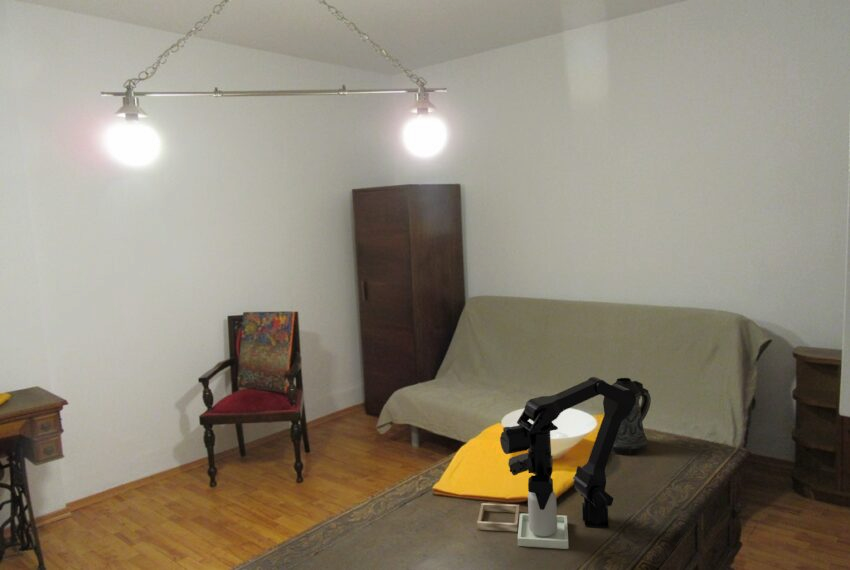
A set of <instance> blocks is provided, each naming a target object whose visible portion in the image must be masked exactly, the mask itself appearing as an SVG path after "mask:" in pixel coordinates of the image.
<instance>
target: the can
mask: <svg viewBox="0 0 850 570" xmlns="http://www.w3.org/2000/svg"><path fill="white" fill-rule="evenodd" d="M527 506H528V507H527V508H528V509H527V511H528V512H527V513H528V514H529V529H530V531H531V532H533V533H534V534H535V535H537V536H540V537H548V536H551V535H553V534H554V533H555V532H556V531H557V515H558V514H557V513H558V511H557V495H556V493H555V491H553V492H552V493H551V495H550V497H549V499H548V502H547V504H546V506H545V509H544V510H540V508H539V504H538V501H537V497H536V494H535V493H533V492H529V491H528V493H527Z"/></svg>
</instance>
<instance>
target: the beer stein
mask: <svg viewBox="0 0 850 570" xmlns="http://www.w3.org/2000/svg"><path fill="white" fill-rule="evenodd" d="M613 384H617V385H620V386H622V387H624V388H627V389H629V390H631V391H633V392H634V394H635V396H636V399H637V400H636V404H635V406H634V408H633V410H632V412H631V414H630V415H628V416H627V417H626V418H625V419H624V420H623V421H622V423H621V426H620V428H619V431H618V434H617V437H616V440H615V443H614V446H613V449H612V451H611V454H612V455H618V456H619V455H620V456H636V455H639V454H641V453H644V452H645V450H646V447H647V444H648V439H647V436H646V433H645V431H644V424H643V421H644V420H645V418H646V416H647V414H648V413H649V410H650V407H651V402H652V401H651V399H652V398H651V394H650V393H649V390H648V389H646V388H644V386H643V385H644V384H643V383H642V382H639V381H638V380H632V379H631V378H629V377H619V378H617V379H616V380H615V382H614V383H612V384H611V385H613ZM640 399H641V402H640Z"/></svg>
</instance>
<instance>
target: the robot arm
mask: <svg viewBox="0 0 850 570" xmlns="http://www.w3.org/2000/svg"><path fill="white" fill-rule="evenodd" d="M612 384H613V385H612ZM612 384H610V383H607V382H606V381H605V380H604V379H601V378H599V377H596V376H592V377H589V378H588V379H586V380H585V381H582V382H580V383H578V384H576V385H574V386H571V387H569V388H566V389H564V390H562V391H560V392H558V393H556V394H553V395H544V396H538V397H533V398H530V399H529V400H527V401H526V403H525V406H524V409H523V411H522V413H521V414H520V416H519V418H518V420H517V421H516V424H518V425H513V426H505V427H503V428H502V429H503V431H502V432H501V434H500V437H499V441H500V443H499V444H500V446H501V449H502V451H503V453H504V454H505V455H509V454H514V453H521V452H525V451H528V452H525V453H521V454H518V455H513V456H512V457H510V458H509V459H508V463H507V464H508V467H509V472H510V473H511V475H512V476H517V475H518V474H521V473H524V472H527V471H528V474H533V475H531V476H530V477H529V478H528V482H527V489H528V493H529V492H533V493H535V494H536V497H537V501H538V504H539V508H540V510H544V509H545V506H546V504H547V502H548V499H549V497H550V495H551V493H552V492H554V479H553V478H552V474H553V472H554V471H553V467H554V464H553V463H554V462H553V461H554V459H553V456H552V447H551V446H552V444H551V431H556V430H558V429H559V428H558V426H556V425H555V424H554V421H556V420H557V419H558V418H559V416H560V415H561V413H563V412H564V411H567V410H568V409H570V408H573V407H575V406H578V405H580V404H581V403H583V402H586V401H588V400H590V399H593V398H595V397H597V396H600V395H601V396H603V401H602V405H603V412H604V413H603V414H604V415H603V418H602V420H601V424H600V426H599V428H598V430H597V431H598V432H597V434H596V437H595V440H594V443H593V446H592V449H591V452H590V455H589V457H588V459H587V462H586V463H585V464H584V465H583V466H581V465H577V467H576V472H575V474H574V476H573V477H572V479H573V487H574V489H575V490H576V491H577V492H578V493H579V495H580V496H581V497H583V502H582V503H581V517H582V521H583V522H584V527H591V528H593V527H594V528H610V522H609V507H611V506H612V505H613V501H614V497H612V495H610V493H608V492H607V491H606V487H607V476H606V468H607V465H608V462H609V460H610V458H611V457H610V456H611V454H612V453H611V451H612V449H613V446H614V443H615V440H616V437H617V434H618V431H619V428H620V426H621V423H622V421H623V420H624V419H625V418H626V417H627V416H628V415H630V414H631V412H632V410H633V408H634V406H635V404H636V400H637V399H636V396H635V394H634V392H633V391H631V390H629V389H627V388H624V387H622V386H620V385H617V384H614V383H612ZM530 421H532V422H533V423H532V422H530Z"/></svg>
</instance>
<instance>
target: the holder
mask: <svg viewBox="0 0 850 570" xmlns="http://www.w3.org/2000/svg"><path fill="white" fill-rule="evenodd" d="M485 512H494V513H495V512H496V513H515V516H514V522H500V521H499V522H498V521H483V518H484V515H485ZM519 517H520V504H506V503H505V504H504V503H488V502H487V503H485V502H483V503H481V505H480V509H479V513H478V517H477V521H476V528H477V529H476V530H480V531H481V530H482V531H496V532H497V531H501V532H515V533H518V528H519Z"/></svg>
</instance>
